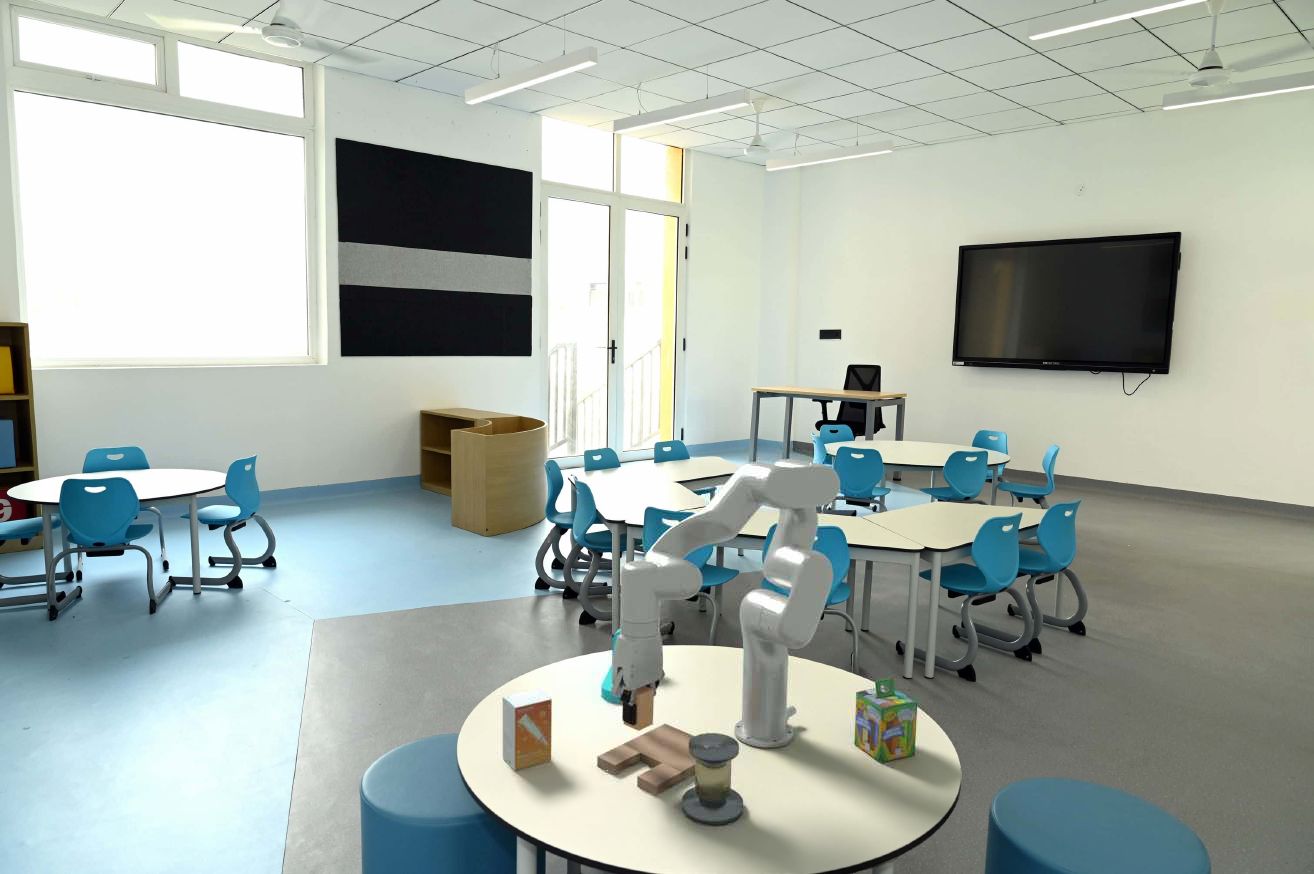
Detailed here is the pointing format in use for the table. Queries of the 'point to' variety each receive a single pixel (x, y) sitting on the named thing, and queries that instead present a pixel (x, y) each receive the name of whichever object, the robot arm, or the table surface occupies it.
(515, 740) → the small box
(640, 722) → the light orange block
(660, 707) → the table surface
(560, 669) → the table surface
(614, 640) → the bracket
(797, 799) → the table surface
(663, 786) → the notched board
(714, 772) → the bobbin
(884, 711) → the chalk box
